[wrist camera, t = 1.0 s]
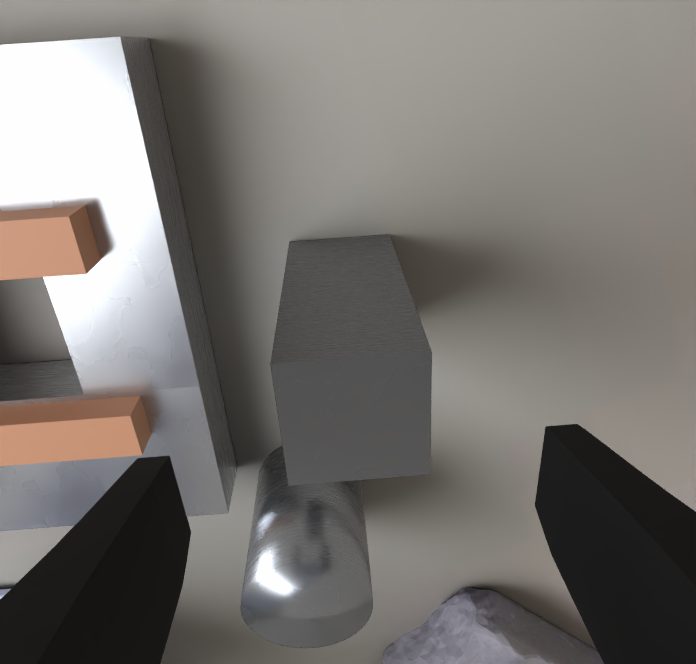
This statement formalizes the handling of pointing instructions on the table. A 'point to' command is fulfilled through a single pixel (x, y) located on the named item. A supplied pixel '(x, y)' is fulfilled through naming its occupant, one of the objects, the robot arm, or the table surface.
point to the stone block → (487, 636)
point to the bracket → (72, 416)
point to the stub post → (306, 560)
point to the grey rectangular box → (350, 364)
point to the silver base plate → (110, 275)
